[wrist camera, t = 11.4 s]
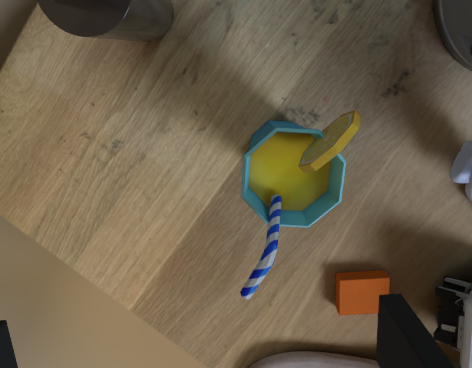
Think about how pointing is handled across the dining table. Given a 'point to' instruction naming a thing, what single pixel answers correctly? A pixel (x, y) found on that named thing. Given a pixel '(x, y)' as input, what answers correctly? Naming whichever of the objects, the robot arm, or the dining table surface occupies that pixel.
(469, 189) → the toy figurine
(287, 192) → the cup
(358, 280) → the orange rectangular block
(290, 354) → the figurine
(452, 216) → the dining table surface
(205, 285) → the dining table surface
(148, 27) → the sake bottle
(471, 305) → the light switch
